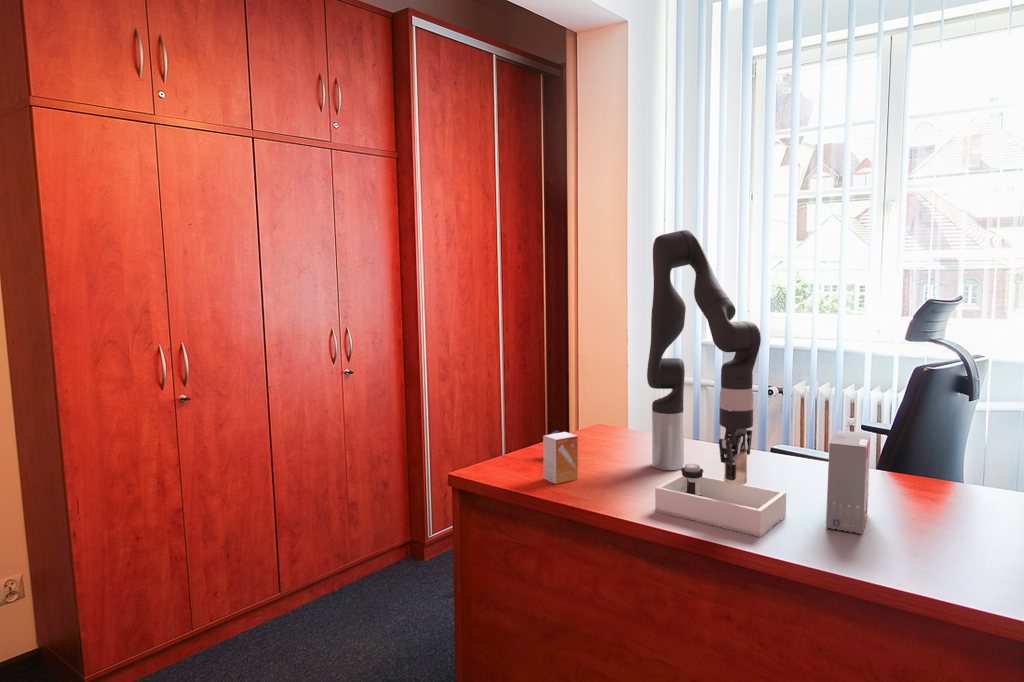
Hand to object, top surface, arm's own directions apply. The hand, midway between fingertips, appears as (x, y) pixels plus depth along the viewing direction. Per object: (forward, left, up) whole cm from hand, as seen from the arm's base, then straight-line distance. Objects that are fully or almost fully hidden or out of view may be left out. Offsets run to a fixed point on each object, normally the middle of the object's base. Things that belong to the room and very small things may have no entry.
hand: (735, 476), depth 154 cm
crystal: (-15, -64, -10) cm, 67 cm away
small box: (+2, -51, -10) cm, 52 cm away
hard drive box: (-14, +21, -10) cm, 27 cm away
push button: (0, -10, -10) cm, 14 cm away
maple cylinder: (0, 0, -1) cm, 1 cm away
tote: (0, -4, -10) cm, 11 cm away
